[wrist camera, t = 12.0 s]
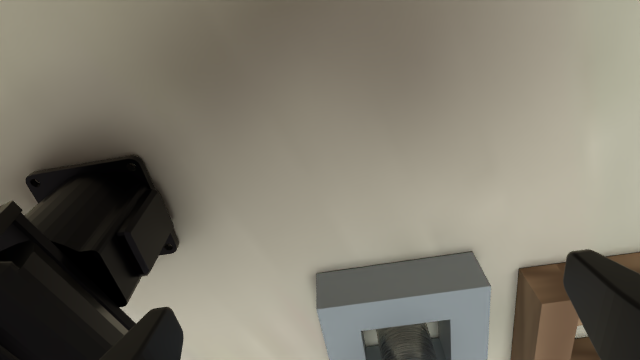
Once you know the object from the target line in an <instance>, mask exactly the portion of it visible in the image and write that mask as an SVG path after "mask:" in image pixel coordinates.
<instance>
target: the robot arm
mask: <svg viewBox="0 0 640 360" xmlns="http://www.w3.org/2000/svg"><path fill="white" fill-rule="evenodd" d="M130 163H133V164H135V165H136V168H134V167H132V166H131V165H130ZM35 179H36V180H38V181H39V182H40V183H38V182H36V180H35ZM26 184H27V186H28V187H29V189H30V191H31V192H32V194H33V195H34V197H35V199H36V200H37V202H38V204H37V205H36V206H35V207H34V208H33V209H32V210H31V211H30V212H28V213H27V214H26V215H25V216H24V215H23V214H22V213H21V212H22V209H21V208H20V207H19V206H18V205H17V204H16V203H15V202H14V201H10V202H8V203H6V204H4V205H2V206H0V360H180V359H181V352H182V345H183V331H182V328H181V326H180V324H179V322H178V320H177V318H176V316H175V314H174V312H173V311H172V309H171V308H169V307H162V308H155V309H152V310H150V311H149V312H148V313H147V314H146V315H145V316H144V317H143V318H142V319H141V320H140V321H139V322H138V323H137V324H136V323H135V322H134V321H133V320H132V319H131V318H130V317H129V316H128V315H126V314H125V313H124V312H123V311H122V310H121V309H120V308H119V307H124V306H126V305H127V303H128V301H129V299H130V298H131V296H132V294H133V292H134V290H135V288H136V286H137V285H138V283H139V281H140V279H141V277H142V276H147V275H148V274H149V273H150V271H151V269H152V267H153V265H154V263H155V261H156V260H157V258H158V256H159V255H165V254H171V253H174V252H175V251H176V250H177V248H178V245H179V243H178V240H177V238H176V235H175V233H174V231H173V223H172V221H171V218H170V216H169V214H168V212H167V209H166V207H165V205H164V202H163V200H162V198H161V196H160V193H159V192H158V191H157V190H156V189H155V188H154V185H153V183H152V181H151V179H150V176H149V174H148V172H147V170H146V167H145V165H144V163H143V161H142V160H141V159H140V158H139V157H137V156H134V155H130V156H125V157H119V158H113V159H107V160H101V161H95V162H89V163H83V164H77V165H71V166H66V167H60V168H54V169H48V170H42V171H36V172H33V173H31V174H30V175H29V176H27V178H26ZM167 244H170V245H172V246H168V245H167ZM563 284H564V288H565V291H566V293H567V295H568V297H569V299H570V301H571V303H572V305H573V307H574V309H575V311H576V313H577V315H578V317H579V319H580V321H581V323H582V325H583V327H584V329H585V331H586V333H587V335H588V337H589V339H590V340H591V342H592V344H593V346H594V348H595V350H596V352H597V354H598V356H599V357H600V359H601V360H640V273H637V272H635V271H633V270H631V269H629V268H627V267H625V266H623V265H621V264H619V263H617V262H615V261H613V260H611V259H609V258H607V257H605V256H603V255H601V254H599V253H597V252H595V251H592V250H587V249H586V250H579V251H572V252H570V253H569V254H568V255H567V259H566V265H565V271H564V277H563Z"/></svg>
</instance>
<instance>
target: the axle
mask: <svg viewBox="0 0 640 360" xmlns="http://www.w3.org/2000/svg"><path fill="white" fill-rule="evenodd" d="M376 332H377V338H378V344H379V350H380V356H381V360H437V357H436V354H435V350H434V347H433V344H432V340H431V337H430V334H429V331H428V327H427V324H426V323H419V324H411V325H403V326H396V327H388V328H380V329H376Z"/></svg>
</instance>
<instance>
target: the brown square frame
mask: <svg viewBox="0 0 640 360" xmlns="http://www.w3.org/2000/svg"><path fill="white" fill-rule="evenodd" d="M607 258H609V259H611V260H613V261H615V262H617V263H619V264H621V265H623V266H625V267H627V268H629V269H631V270H633V271H635V272H637V273H640V252H639V253H631V254H624V255H617V256H609V257H607ZM565 265H566V262H565V263H558V264H551V265H543V266H536V267H529V268H522V269H519V276H518V287H517V298H516V308H515V319H514V330H513V341H512V352H511V360H601V359H600V357H599V356H598V354H597V352H596V350H595V348H594V346H593V344H592V342H591V340H590V339H589V337H586V338H578V339H575V334H576V329H577V326H579V325H582V323H581V321H580V319H579V317H578V315H577V313H576V311H575V309H574V307H573V305H572V303H571V301H570V299H569V297H568V295H567V293H566V291H565V288H564V284H563V277H564V271H565Z"/></svg>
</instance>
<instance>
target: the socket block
mask: <svg viewBox="0 0 640 360" xmlns="http://www.w3.org/2000/svg"><path fill="white" fill-rule="evenodd" d="M316 293H317V313H318V317H319V321H320V325H321V329H322V333H323V337H324V341H325V345H326V349H327V353H328V357H329V360H381V356H380V350H379V345H377V346H369V347H365V341H364V335H363V331H365V330H372V329H380V328H388V327H396V326H403V325H411V324H419V323H426V322H434V321H439V338H433V339H431V340H432V344H433V347H434V350H435V354H436V357H437V360H487V358H488V337H489V316H490V295H491V285H490V283H489V282H488V280H487V278H486V276H485V274H484V272H483V270H482V268H481V267H480V265H479V263H478V261H477V259H476V257H475V255H474V253H473V252H467V253H460V254H453V255H446V256H439V257H432V258H424V259H417V260H410V261H403V262H396V263H389V264H382V265H375V266H368V267H361V268H354V269H346V270H339V271H332V272H325V273H318V274H316Z"/></svg>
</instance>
